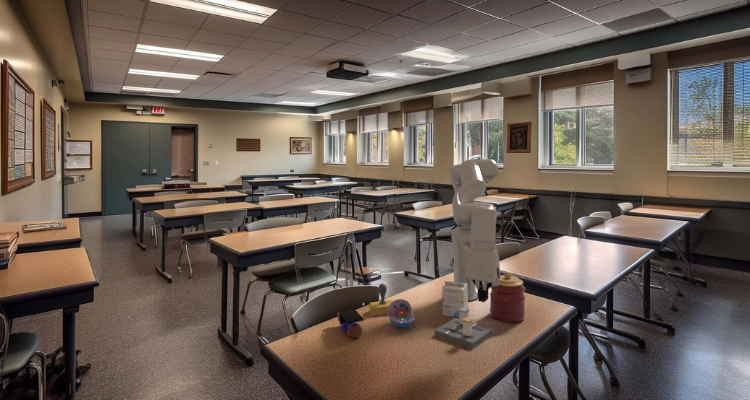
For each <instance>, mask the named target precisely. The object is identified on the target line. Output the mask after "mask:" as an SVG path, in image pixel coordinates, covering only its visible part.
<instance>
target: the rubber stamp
mask: <svg viewBox="0 0 750 400" xmlns="http://www.w3.org/2000/svg"><path fill="white" fill-rule="evenodd" d="M387 290H388V289H387V285H386V284H385V283H380V284H379V285H378V294H379V297H380V299H381V300H380V301H373V302H372V301H371V302H369V313H370V314H371V316H372V317H376V316H383V315H384V316H386V315H388V307H389V305H390V304H391V303H392V302H393V301H394V300H392V299H389V300H385V297H386V293H387Z"/></svg>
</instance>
